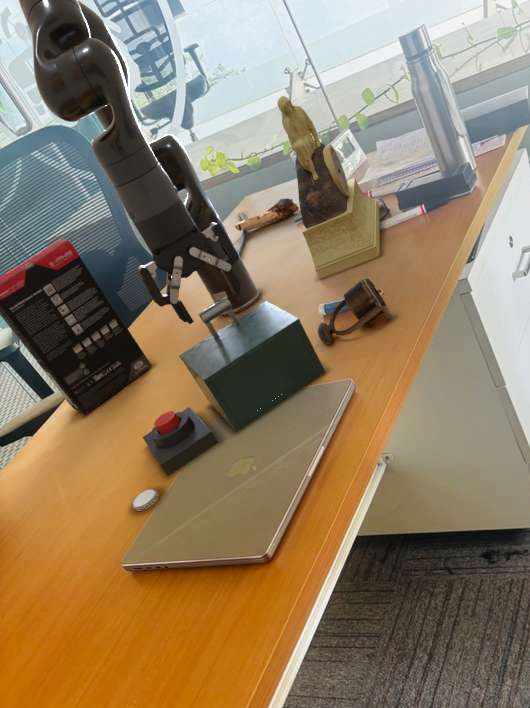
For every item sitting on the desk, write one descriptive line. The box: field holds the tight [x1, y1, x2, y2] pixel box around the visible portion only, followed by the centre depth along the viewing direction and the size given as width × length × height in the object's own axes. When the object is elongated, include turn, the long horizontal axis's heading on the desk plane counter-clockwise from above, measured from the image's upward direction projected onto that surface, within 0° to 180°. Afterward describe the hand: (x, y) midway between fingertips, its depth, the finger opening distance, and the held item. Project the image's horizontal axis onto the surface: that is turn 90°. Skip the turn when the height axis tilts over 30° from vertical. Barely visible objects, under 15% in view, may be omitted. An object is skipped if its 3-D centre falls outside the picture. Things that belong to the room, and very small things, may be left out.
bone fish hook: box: [234, 198, 300, 231], centre depth 180 cm, size 9×5×18 cm
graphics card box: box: [0, 238, 152, 415], centre depth 128 cm, size 17×7×27 cm, turn 135°
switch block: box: [142, 406, 219, 476], centre depth 107 cm, size 12×9×4 cm
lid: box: [178, 297, 302, 384], centre depth 104 cm, size 14×17×5 cm
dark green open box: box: [183, 322, 326, 432], centre depth 108 cm, size 13×17×9 cm
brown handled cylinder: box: [317, 277, 392, 345], centre depth 113 cm, size 7×13×10 cm
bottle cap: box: [131, 488, 160, 512], centre depth 99 cm, size 4×4×1 cm
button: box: [153, 410, 181, 434], centre depth 105 cm, size 4×4×2 cm
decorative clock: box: [276, 95, 381, 280], centre depth 137 cm, size 28×13×30 cm, turn 179°
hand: (213, 307), depth 106 cm, fingers open, 8 cm apart
